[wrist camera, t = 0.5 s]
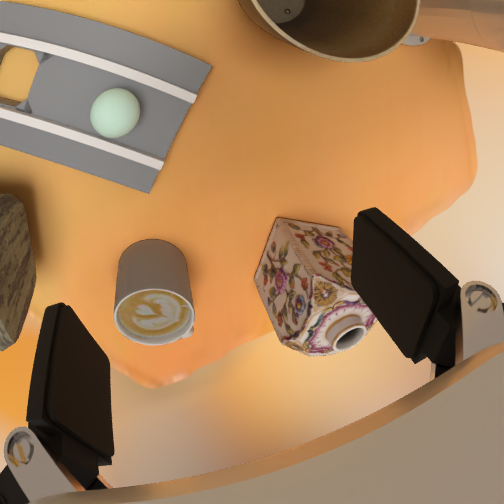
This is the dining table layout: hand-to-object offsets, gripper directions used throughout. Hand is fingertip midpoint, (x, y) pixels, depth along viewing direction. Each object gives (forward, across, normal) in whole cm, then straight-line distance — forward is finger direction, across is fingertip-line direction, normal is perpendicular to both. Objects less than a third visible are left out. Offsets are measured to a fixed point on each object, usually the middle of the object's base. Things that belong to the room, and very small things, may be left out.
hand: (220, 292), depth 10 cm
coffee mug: (+30, +8, +21) cm, 38 cm away
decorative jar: (+30, -13, +24) cm, 41 cm away
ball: (+25, +5, -3) cm, 25 cm away
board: (+30, +10, -8) cm, 32 cm away
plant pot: (+29, -14, -12) cm, 35 cm away
